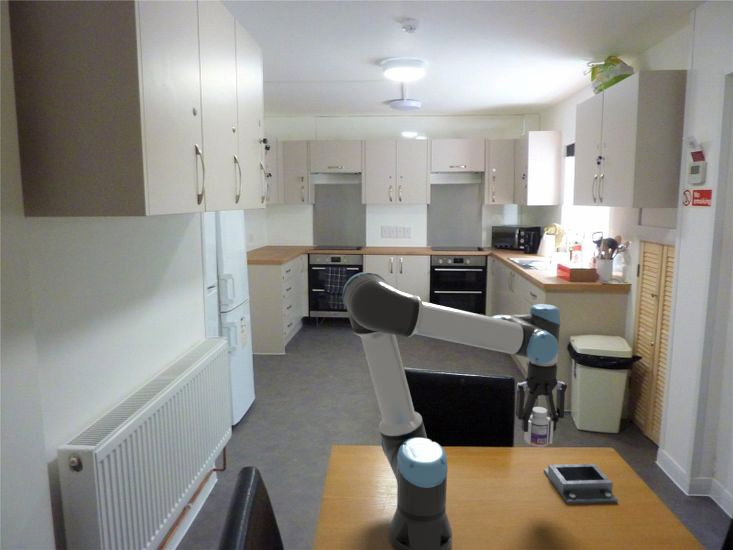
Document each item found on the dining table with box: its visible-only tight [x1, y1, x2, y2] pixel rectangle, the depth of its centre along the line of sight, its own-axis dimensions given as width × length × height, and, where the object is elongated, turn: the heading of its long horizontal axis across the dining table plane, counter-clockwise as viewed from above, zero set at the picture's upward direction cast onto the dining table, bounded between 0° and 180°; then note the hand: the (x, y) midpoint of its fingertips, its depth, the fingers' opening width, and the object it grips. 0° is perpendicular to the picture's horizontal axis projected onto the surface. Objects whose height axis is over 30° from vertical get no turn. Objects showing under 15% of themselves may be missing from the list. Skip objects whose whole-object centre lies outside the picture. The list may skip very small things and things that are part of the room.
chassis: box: [543, 463, 619, 505], centre depth 144 cm, size 16×14×4 cm
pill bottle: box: [529, 406, 549, 448], centre depth 138 cm, size 5×5×10 cm
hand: (538, 441), depth 139 cm, fingers closed on pill bottle, 5 cm apart
